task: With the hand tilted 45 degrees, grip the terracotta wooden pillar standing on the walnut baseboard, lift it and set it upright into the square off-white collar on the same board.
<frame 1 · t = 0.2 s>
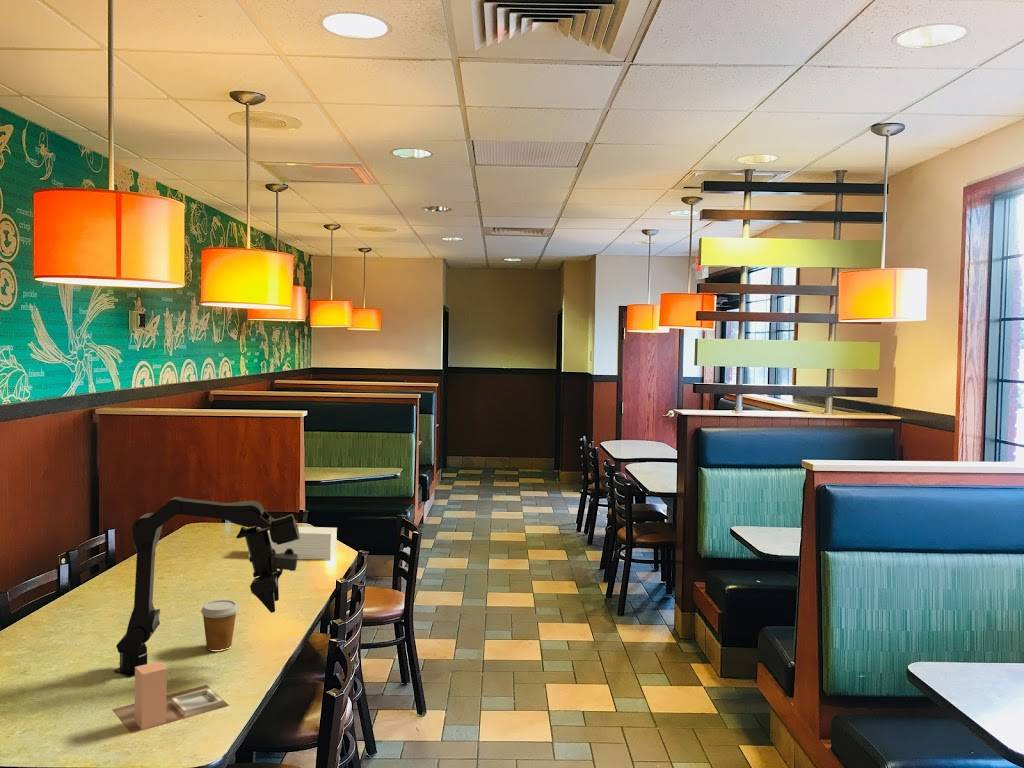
hand: (275, 606, 205), 15 cm above the table, tool pointing down, fingers open, 9 cm apart
pillar: (150, 722, 170), point 1 cm above the table, touching baseboard
baseboard: (171, 711, 177), on the table
stack of papers: (293, 556, 312), on the table
disposable coffee cup: (219, 648, 215), on the table
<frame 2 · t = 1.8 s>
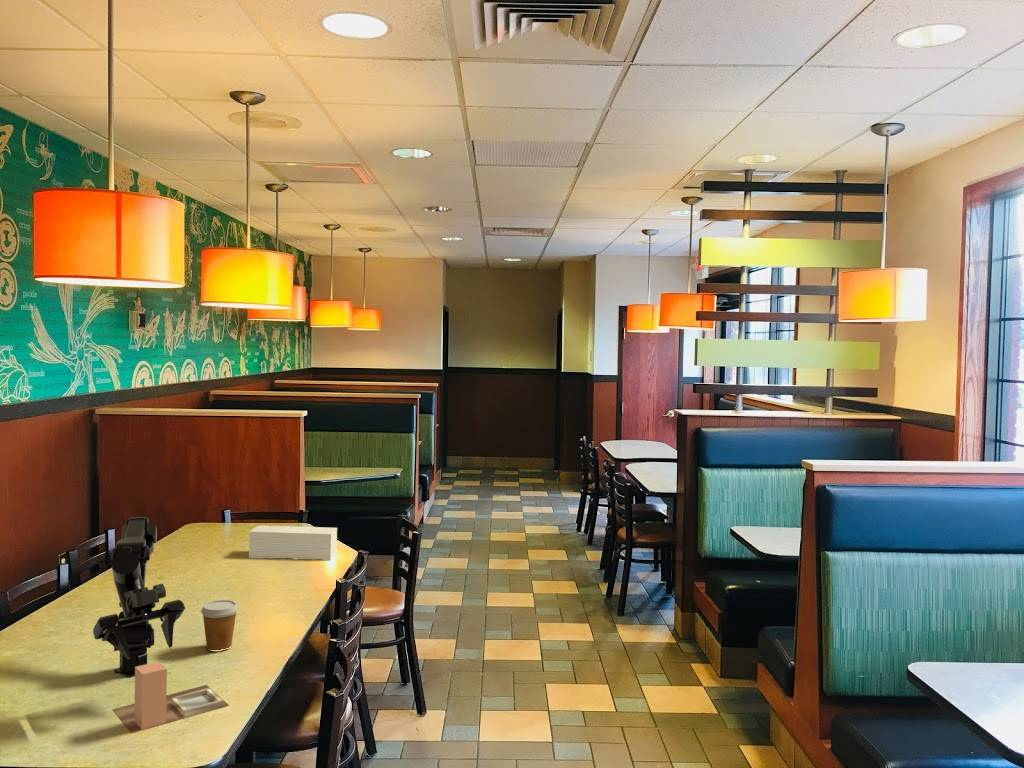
hand: (150, 652, 177), 14 cm above the table, tool tilted 45°, fingers open, 9 cm apart
nothing on the table moved.
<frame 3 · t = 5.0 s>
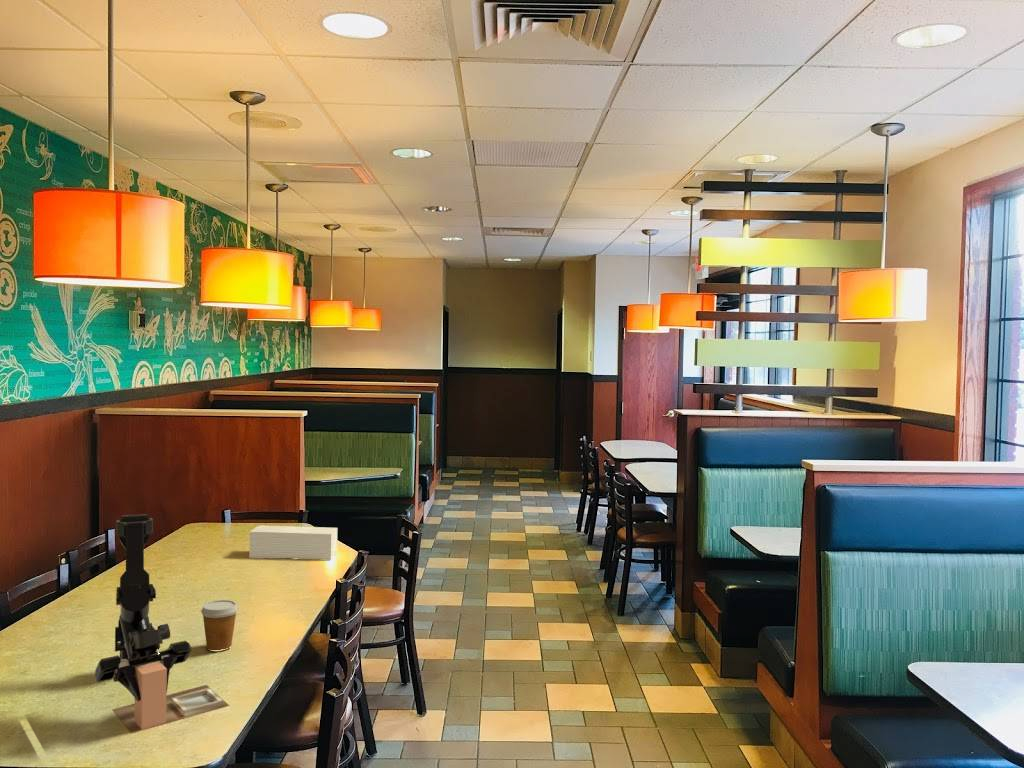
hand: (152, 696, 169), 7 cm above the table, tool tilted 45°, fingers closed on pillar, 5 cm apart
pillar: (150, 722, 170), point 1 cm above the table, touching baseboard, gripper
everything else where it was.
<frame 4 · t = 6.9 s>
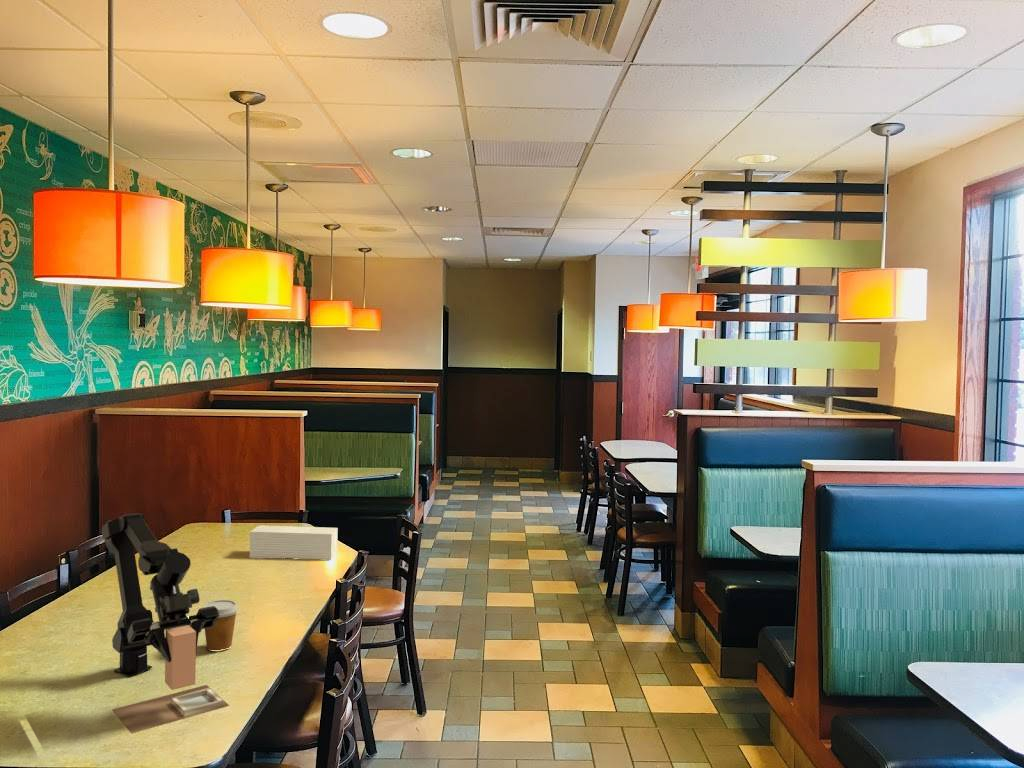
hand: (182, 658, 174), 13 cm above the table, tool tilted 45°, fingers closed on pillar, 5 cm apart
pillar: (180, 683, 176), point 7 cm above the table, touching gripper
everything else where it was.
when the fingers open (8 cm above the table, at t = 8.9 s): pillar drops 1 cm, resting on baseboard.
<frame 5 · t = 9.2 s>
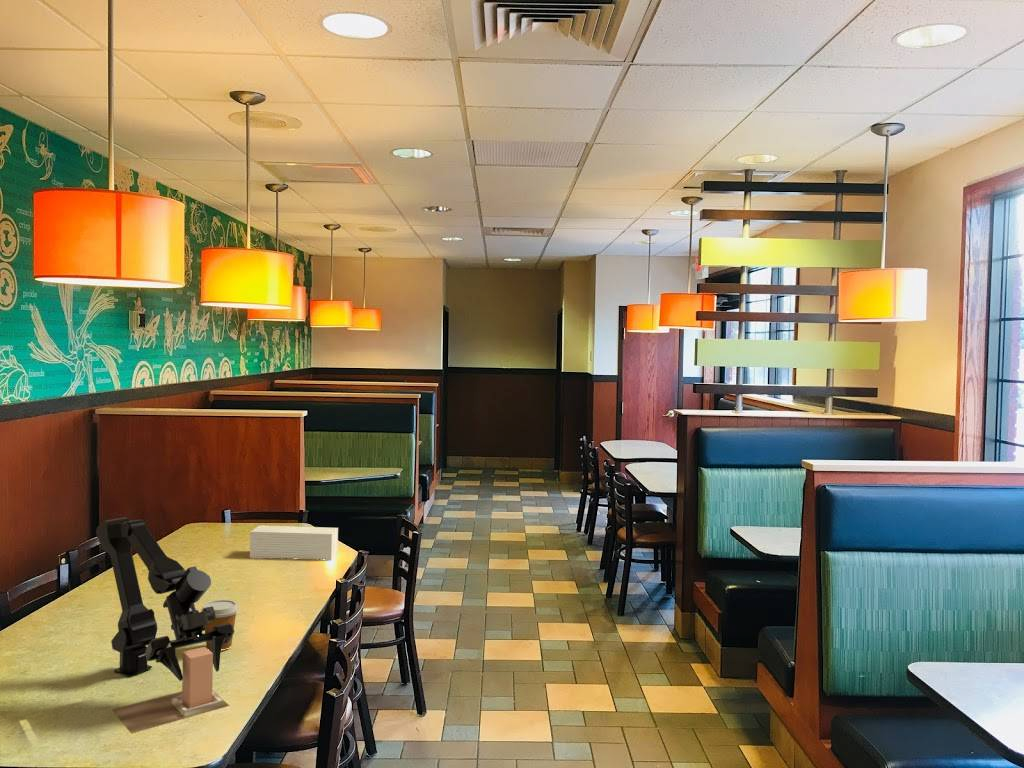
hand: (199, 675, 178), 8 cm above the table, tool tilted 45°, fingers open, 8 cm apart
pillar: (197, 704, 179), point 1 cm above the table, touching baseboard
everything else where it was.
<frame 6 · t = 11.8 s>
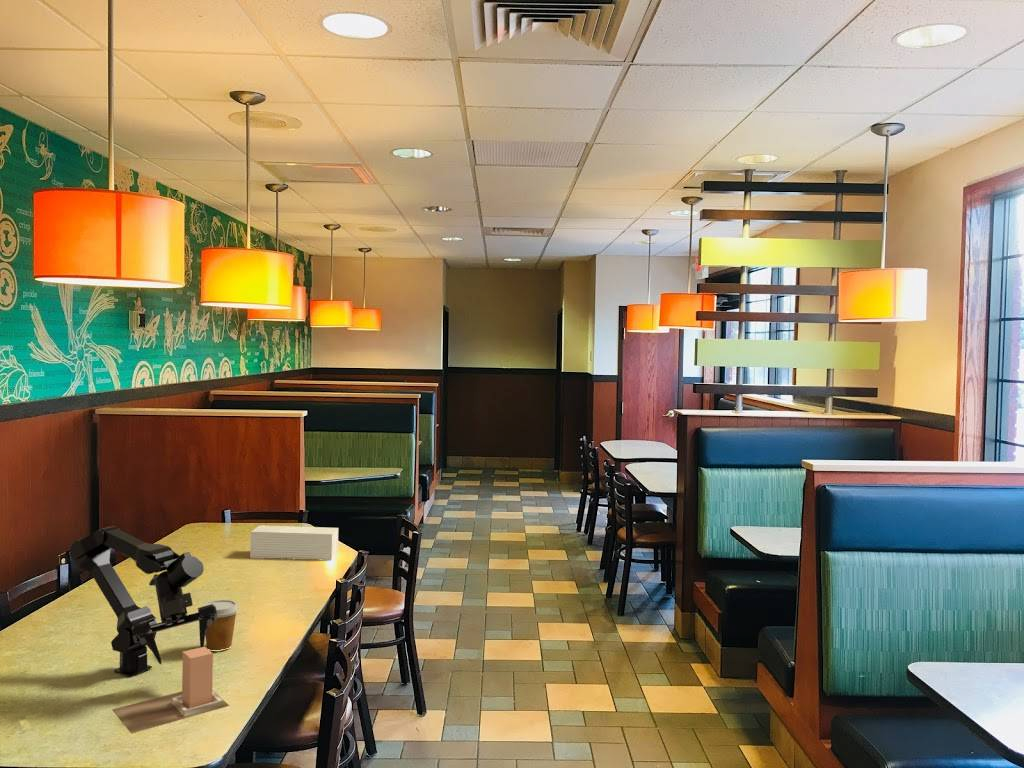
hand: (181, 657, 185), 9 cm above the table, tool tilted 35°, fingers open, 9 cm apart
nothing on the table moved.
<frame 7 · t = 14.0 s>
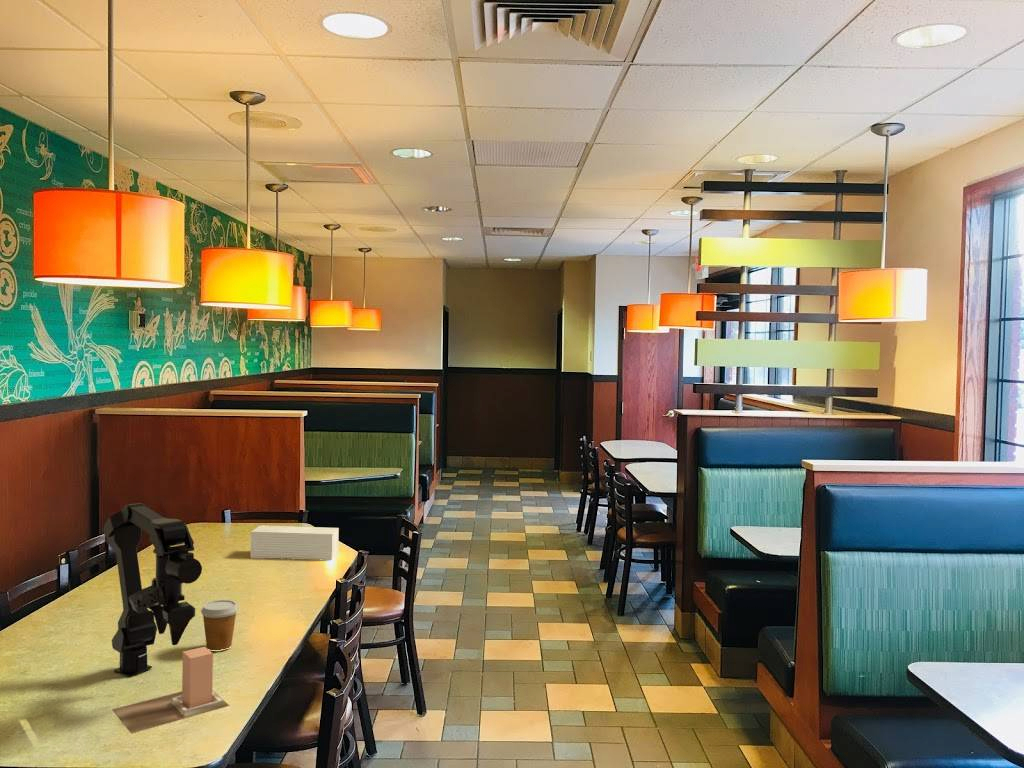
hand: (168, 639, 186), 13 cm above the table, tool pointing down, fingers open, 9 cm apart
nothing on the table moved.
at the end: pillar 0.0 cm from the target spot on the baseboard, point 1.1 cm above the baseboard's base; pillar tilted 0°; the gripper is holding nothing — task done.
